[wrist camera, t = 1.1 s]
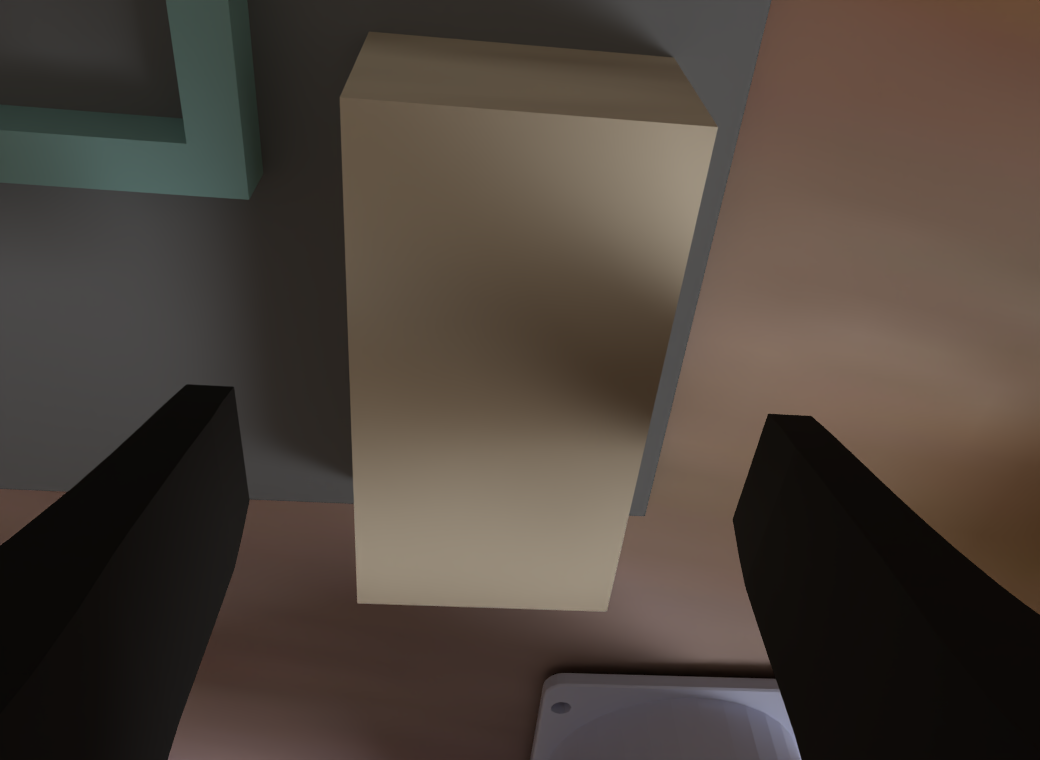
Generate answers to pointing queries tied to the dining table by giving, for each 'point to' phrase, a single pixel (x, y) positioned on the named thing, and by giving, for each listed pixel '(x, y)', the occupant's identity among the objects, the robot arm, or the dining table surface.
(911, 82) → the dining table surface
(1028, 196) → the dining table surface
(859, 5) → the dining table surface
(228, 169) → the teal frame
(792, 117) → the dining table surface
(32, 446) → the rubber mat
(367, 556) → the beige block
